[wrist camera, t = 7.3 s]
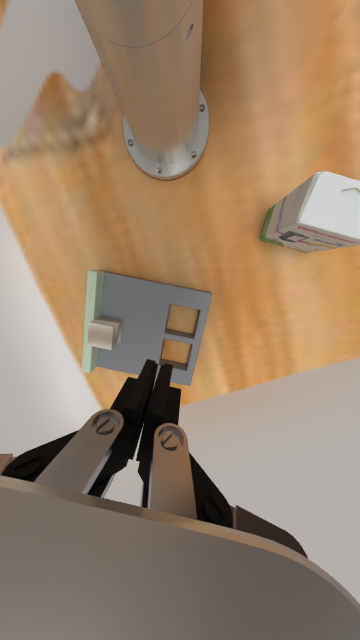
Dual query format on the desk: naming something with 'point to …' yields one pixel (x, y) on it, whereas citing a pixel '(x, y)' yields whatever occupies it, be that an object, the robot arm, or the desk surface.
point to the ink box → (316, 215)
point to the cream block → (104, 332)
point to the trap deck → (140, 322)
